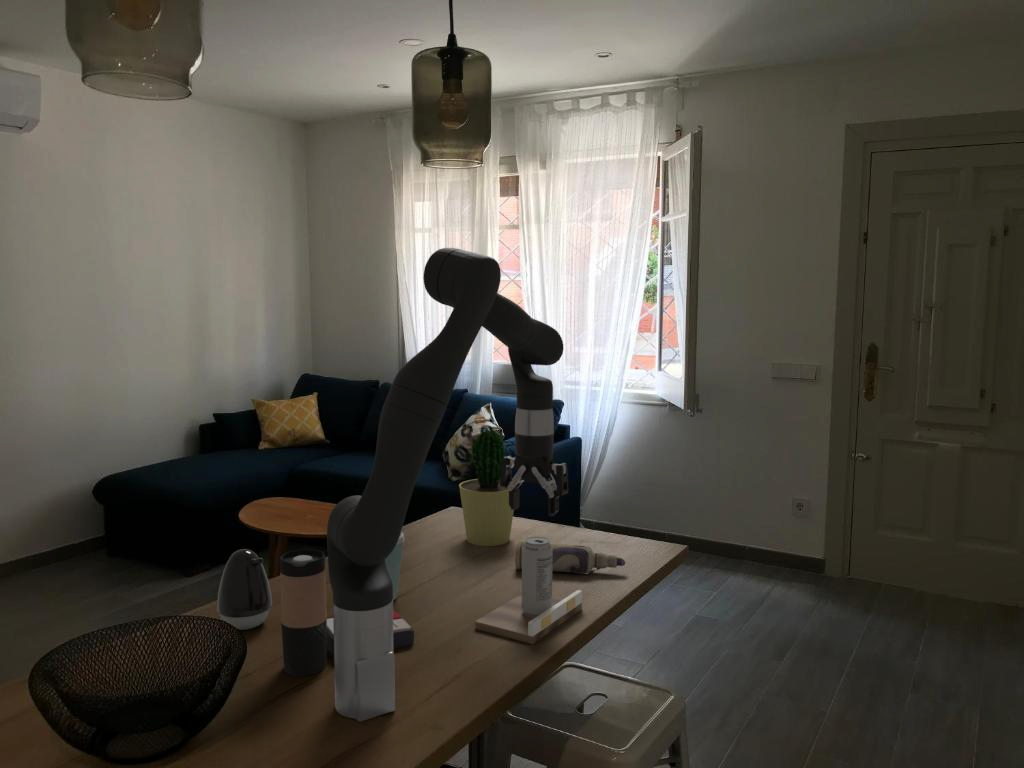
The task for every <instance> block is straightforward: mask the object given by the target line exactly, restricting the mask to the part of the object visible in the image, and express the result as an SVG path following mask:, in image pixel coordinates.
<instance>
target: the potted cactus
mask: <svg viewBox="0 0 1024 768" xmlns="http://www.w3.org/2000/svg"><path fill="white" fill-rule="evenodd" d="M473 436H475V435H473ZM504 442H505V439H503V438H502V437H501V436H500V435H499V434H498V432H497V430H493V429H489V430H484V431H481V432H480V433H479V435H478V436H475V439H474V442H473V443H472V442H469V445H471V447H472V448H471V451H472V453H471V454H470V455H471V456H472V461H471V463H473V465H472V466H474V467H476V470H475V475H476V478H475V479H469V480H466V481H465V480H464V481H462V482H460V483H459V484H458V487H459V494H460V500H461V501H460V502H461V507H462V514H463V520H464V527H465V528H464V529H465V535H466V540H467V542H468V543H469V544H471V545H476V546H482V547H493V546H494V547H495V546H501V545H505V544H506V543H508V542H509V541H510V538H511V532H512V531H511V530H512V525H513V517H514V511H515V510H511V506H509V490H508V489H507V488H505V487H501V486H500V473H501V459H502V458H504V457H506V456H505V455H506V453H505V451H506V448H507V447H506V446H505V445H504V444H505V443H504Z"/></svg>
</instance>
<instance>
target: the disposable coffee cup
mask: <svg viewBox="0 0 1024 768" xmlns="http://www.w3.org/2000/svg"><path fill="white" fill-rule="evenodd" d="M402 530H403V529H402ZM402 530H401V533H400V536H399V539H398V542H397V544H396V546H395V548H394V549H393V551H392V552H391V554H390V555H389V556H388V557H387V558H386V559H385V563H386V567H387V571H388V573H389V576H390V578H391V581H392V584H393V601H395V600H396V599H397V596H398V592H399V586H400V585H399V583H400V576H401V575H400V574H401V564H402V556H403V548H404V547H403V546H404V545H403V544H404V541H405V535H404V532H402Z"/></svg>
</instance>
